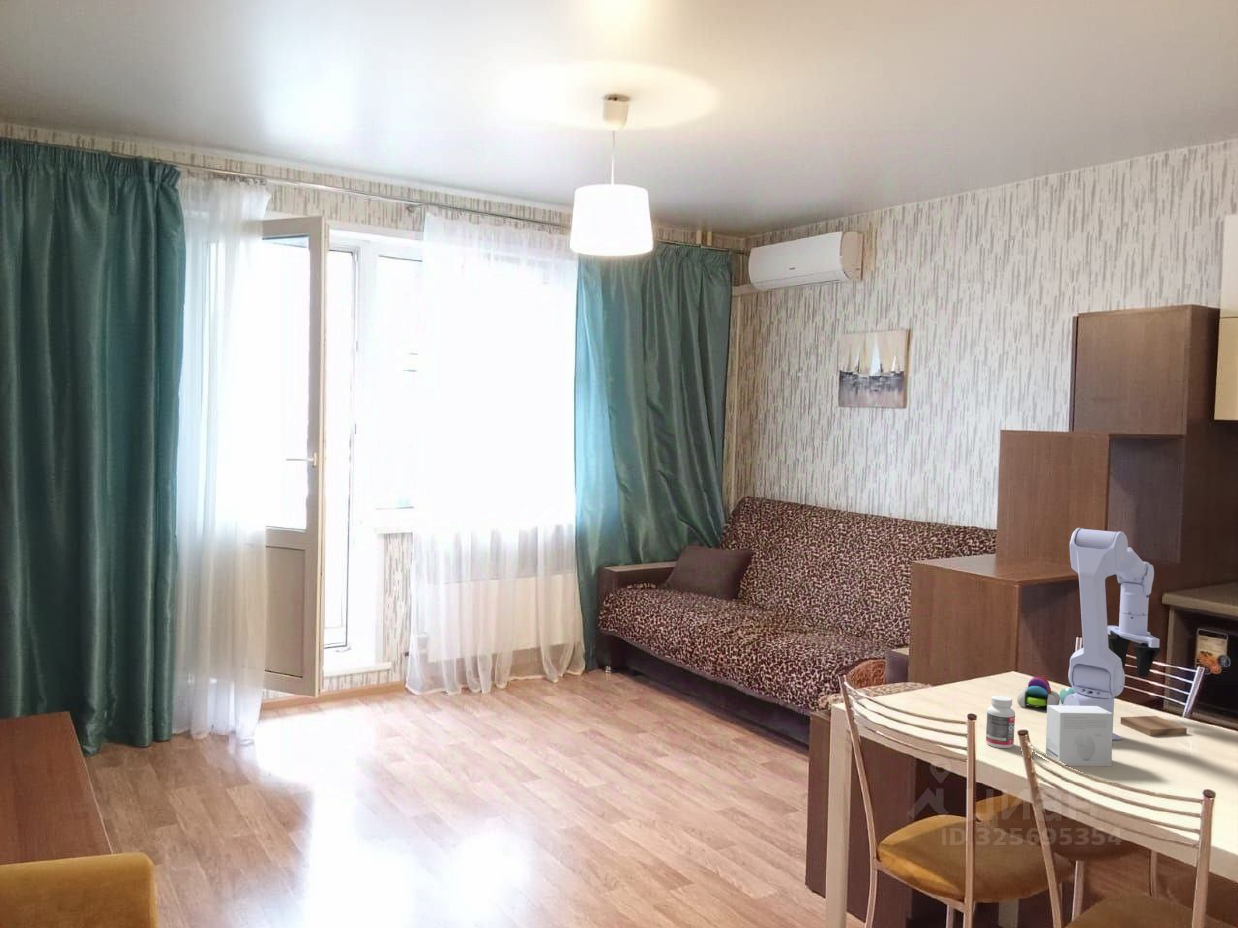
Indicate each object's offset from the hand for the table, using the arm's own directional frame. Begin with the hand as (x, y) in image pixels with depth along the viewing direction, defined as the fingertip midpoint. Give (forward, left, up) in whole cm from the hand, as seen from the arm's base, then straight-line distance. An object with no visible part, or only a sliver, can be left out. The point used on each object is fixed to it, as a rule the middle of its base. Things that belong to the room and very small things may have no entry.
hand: (1130, 672), depth 225 cm
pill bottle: (-42, -15, -11) cm, 46 cm away
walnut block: (-2, -10, -11) cm, 15 cm away
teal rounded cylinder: (-4, +11, -8) cm, 14 cm away
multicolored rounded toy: (-16, +10, -11) cm, 22 cm away
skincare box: (-32, -26, -11) cm, 43 cm away
